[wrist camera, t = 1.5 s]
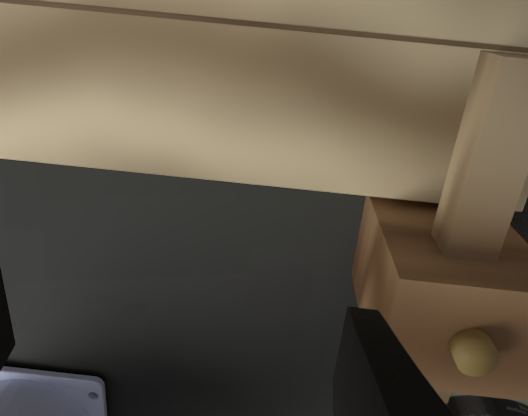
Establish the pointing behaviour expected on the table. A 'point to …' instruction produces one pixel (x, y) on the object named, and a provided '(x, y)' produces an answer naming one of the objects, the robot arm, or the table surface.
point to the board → (250, 88)
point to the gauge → (460, 249)
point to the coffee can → (485, 406)
